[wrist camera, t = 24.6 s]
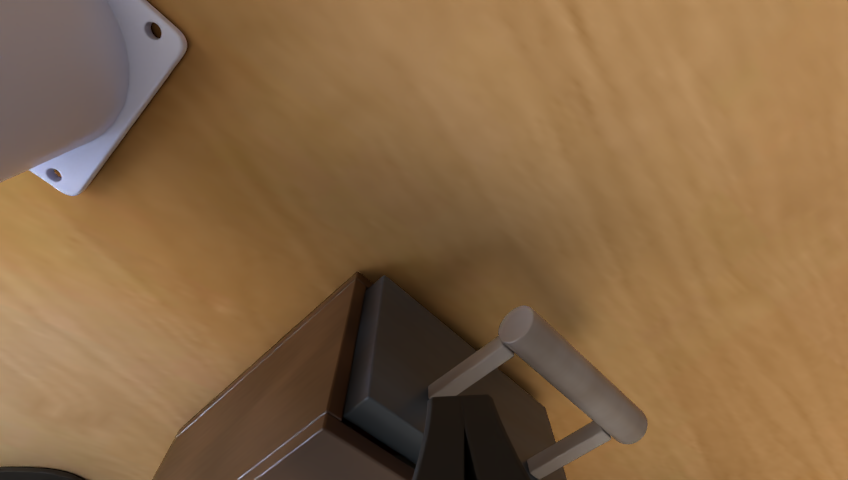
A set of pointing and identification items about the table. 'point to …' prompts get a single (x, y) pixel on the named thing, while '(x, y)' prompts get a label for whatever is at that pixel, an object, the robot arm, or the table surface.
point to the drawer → (476, 382)
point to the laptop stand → (34, 474)
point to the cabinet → (288, 411)
